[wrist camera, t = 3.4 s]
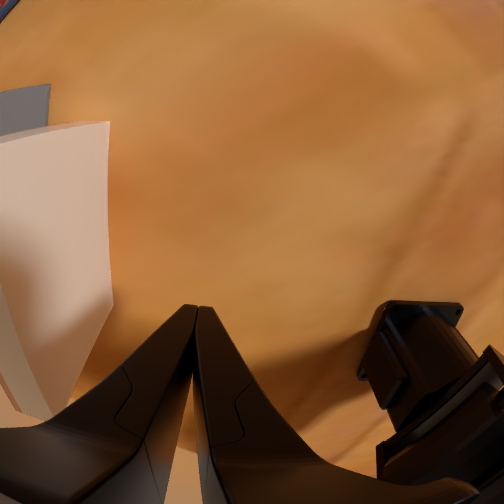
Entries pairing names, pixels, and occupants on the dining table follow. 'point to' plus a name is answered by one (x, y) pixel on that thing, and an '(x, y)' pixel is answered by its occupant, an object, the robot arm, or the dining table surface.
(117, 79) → the dining table surface
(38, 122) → the grey mat
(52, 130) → the tile
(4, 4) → the medicine box
